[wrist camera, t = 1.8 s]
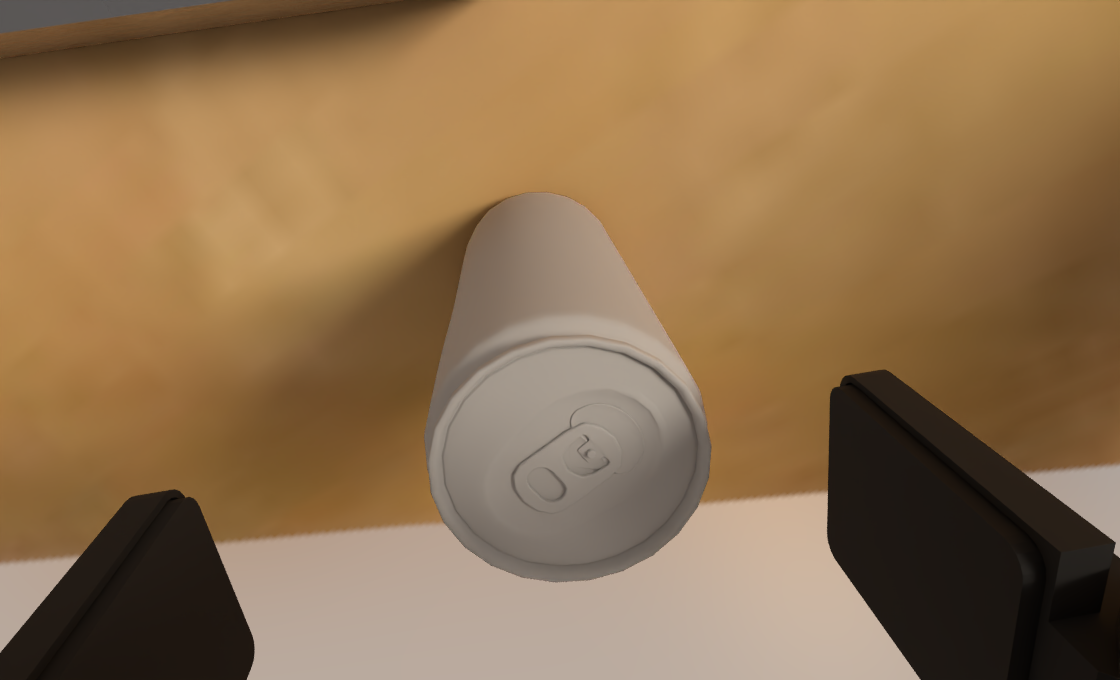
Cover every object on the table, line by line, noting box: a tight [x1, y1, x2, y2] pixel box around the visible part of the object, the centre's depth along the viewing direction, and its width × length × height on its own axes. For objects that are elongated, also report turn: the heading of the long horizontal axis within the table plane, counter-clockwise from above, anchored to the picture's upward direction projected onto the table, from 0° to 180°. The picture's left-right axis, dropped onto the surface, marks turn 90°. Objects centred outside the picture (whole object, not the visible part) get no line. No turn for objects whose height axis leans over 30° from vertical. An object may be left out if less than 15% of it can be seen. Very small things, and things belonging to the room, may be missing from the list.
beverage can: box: [424, 192, 711, 582], centre depth 16 cm, size 5×5×12 cm
